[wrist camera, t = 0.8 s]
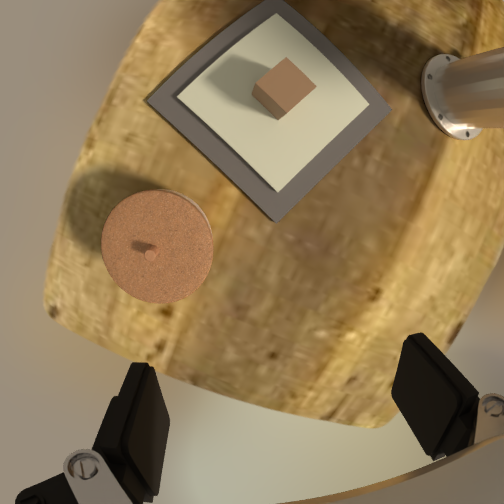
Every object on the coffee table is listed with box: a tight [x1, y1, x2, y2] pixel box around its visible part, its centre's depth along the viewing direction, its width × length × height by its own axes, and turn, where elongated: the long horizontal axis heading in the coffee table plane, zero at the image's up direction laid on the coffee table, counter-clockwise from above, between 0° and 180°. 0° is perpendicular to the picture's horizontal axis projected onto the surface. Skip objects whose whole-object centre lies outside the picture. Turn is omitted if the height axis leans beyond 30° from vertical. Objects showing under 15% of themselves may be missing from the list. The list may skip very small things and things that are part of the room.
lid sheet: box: [177, 13, 369, 192], centre depth 27 cm, size 15×15×6 cm
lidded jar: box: [101, 189, 213, 303], centre depth 30 cm, size 11×11×9 cm
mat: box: [147, 0, 392, 223], centre depth 30 cm, size 20×20×1 cm
